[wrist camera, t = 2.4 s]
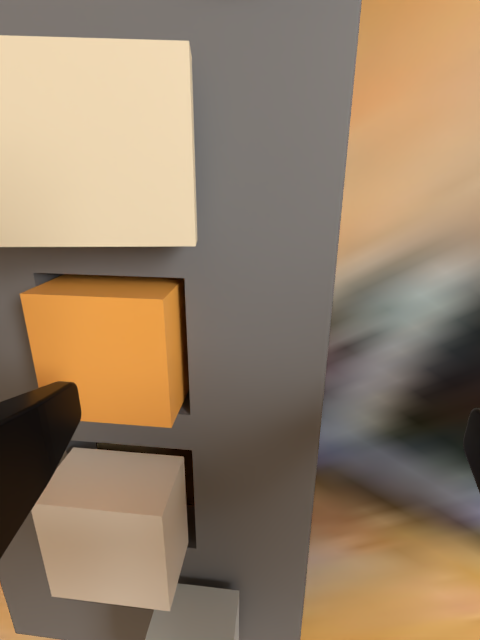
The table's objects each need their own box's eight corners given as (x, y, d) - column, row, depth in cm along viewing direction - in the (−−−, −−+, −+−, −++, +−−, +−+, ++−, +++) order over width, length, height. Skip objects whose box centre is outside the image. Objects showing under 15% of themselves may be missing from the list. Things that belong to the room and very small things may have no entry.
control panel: (348, 15, 10) (371, -42, 7) (295, 621, 18) (297, 695, 16) (-100, 30, 11) (-215, -13, 9) (41, 590, 20) (4, 653, 17)
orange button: (186, 276, 12) (163, 299, 10) (190, 385, 14) (171, 427, 11) (68, 272, 13) (19, 293, 10) (84, 378, 14) (45, 418, 12)
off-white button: (183, 456, 13) (161, 516, 11) (188, 542, 15) (169, 611, 12) (73, 447, 14) (29, 503, 11) (87, 531, 15) (51, 596, 13)
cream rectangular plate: (191, 56, 8) (188, 40, 7) (197, 239, 10) (195, 246, 9) (-96, 47, 8) (-136, 31, 7) (-48, 240, 9) (-76, 247, 9)
